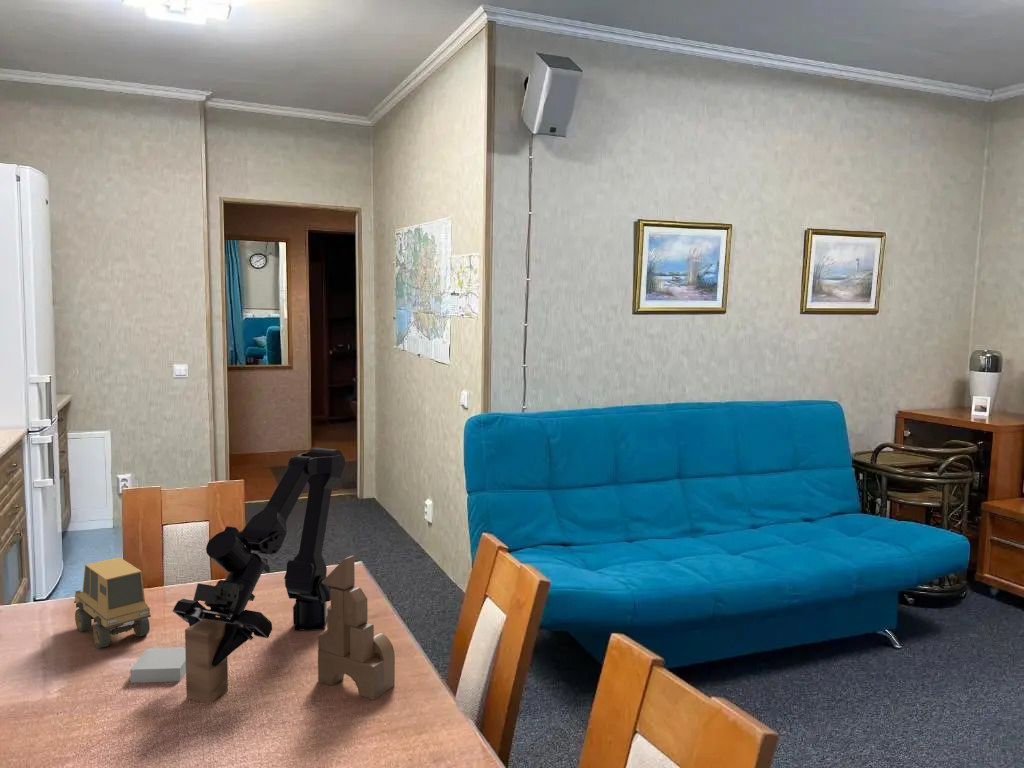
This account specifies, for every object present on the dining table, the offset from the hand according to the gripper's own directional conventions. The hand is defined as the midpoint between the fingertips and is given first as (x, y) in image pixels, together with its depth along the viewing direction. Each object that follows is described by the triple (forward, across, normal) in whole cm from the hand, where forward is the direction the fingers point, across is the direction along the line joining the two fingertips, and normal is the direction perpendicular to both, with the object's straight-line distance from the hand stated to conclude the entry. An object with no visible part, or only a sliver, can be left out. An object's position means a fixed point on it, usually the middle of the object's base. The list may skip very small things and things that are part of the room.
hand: (200, 663), depth 141 cm
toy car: (-6, -37, +16) cm, 41 cm away
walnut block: (+4, 0, +6) cm, 7 cm away
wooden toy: (-6, +22, +16) cm, 28 cm away
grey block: (+1, -14, +9) cm, 17 cm away
